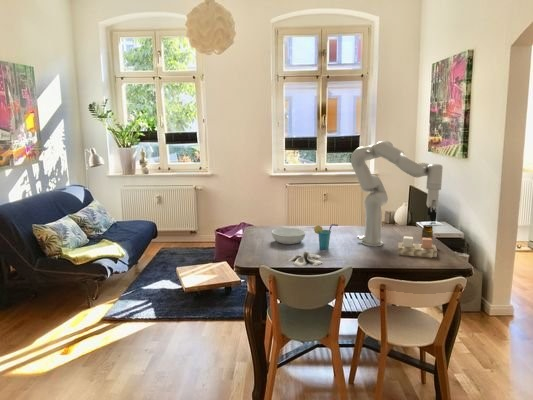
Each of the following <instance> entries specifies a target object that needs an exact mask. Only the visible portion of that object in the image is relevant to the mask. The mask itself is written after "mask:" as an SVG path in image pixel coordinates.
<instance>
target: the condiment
mask: <svg viewBox="0 0 533 400" xmlns="http://www.w3.org/2000/svg"><path fill="white" fill-rule="evenodd" d="M433 235H434V230H433V225H431V224H424V225H423V228H422V230H421V239H422V238H431V239H432V240H433V237H434V236H433ZM418 244H422V241H421V242H420V243H418ZM432 245H434V244H433V243H432Z"/></svg>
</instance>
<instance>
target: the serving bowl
mask: <svg viewBox="0 0 533 400" xmlns="http://www.w3.org/2000/svg"><path fill="white" fill-rule="evenodd" d="M271 236H272V238H273V240H275V242H278V243H280V244H283V245H293V244H298V243H300V242H302V241H303V240H304V239H305V236H306V231H305V230H304V229H300V228H295V227H281V228H280V227H279V228H275V229H272V231H271Z"/></svg>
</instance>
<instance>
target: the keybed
mask: <svg viewBox="0 0 533 400" xmlns="http://www.w3.org/2000/svg"><path fill="white" fill-rule="evenodd" d="M397 245H398V246H397V248H398V249H397V250H398V251H397V254H398V256H408V257H409V256H411V257H422V258H424V257H425V258H432V257H435V258H434V259H437V257H438V256H437V255H438V250H437V247H436V245H435V244H433V245H432V249H426V248H421V247H422V244H419V243H415V242H413V247H403V241H402V242H400V241H398V244H397Z"/></svg>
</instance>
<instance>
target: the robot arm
mask: <svg viewBox="0 0 533 400" xmlns="http://www.w3.org/2000/svg"><path fill="white" fill-rule="evenodd" d="M377 158H383V159H384V160H386V161H388V162H390V163H392V164H394V165H395V167H397V168H398V169H399V170H401V171H402V172H404V173H406V174H407V175H409V176H411V177H413V178H421V177H426V176H427V177H426V188H425V189H426V190H427V195H426V206H427V216H429V219H430V220H436V219H437V209H438V206H439V192H440V191H441V190H442V180H443V169H444V168H443V165H442V164H439V163H428V162H427V163H426V162H420V163H419V162H418V163H417V162H415V161H413V160H411V159H410V158H409V157H407V156H406V155H405V153H404V151H403V150H401V149H399V148H397V147H395V146H394V145H393V143H392V142H391V141H389V140H381V141H378V142H376V143H375V144H370V145H368V146H359V147H357V148H356V149H355V150H354V151H353V152H352V154H351V157H350V163H351V167H352V169H353V171H354V173H355V177H356V178H357V179H356V180H357V181H358V183H359V185H360V186H359V187H360V188H361V190H362V191H363V192H367V193H368V192H369V194H368V195H366V197H365V200H364V206H365V207H364V208H365V220H364V221H365V222H364V223H365V225H364V227H365V228H364V235H357V240H361V243H362V244H363V245H365V246H369V247H380V246H383V245H384V242H383V241H382V239H381V238H382V219H383V216H382V215H383V212H382V207H383V206H385V205H386V204H387V202H388V199H389V198H388V197H389V196H388V194H387V191H386V188H385V187H384V184H383V182H382V179H380V177H379V176H378V175H376V174H372V173H371V171H370V168H369V166H368V165H367V163H366V161H370V160H374V159H377Z"/></svg>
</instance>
